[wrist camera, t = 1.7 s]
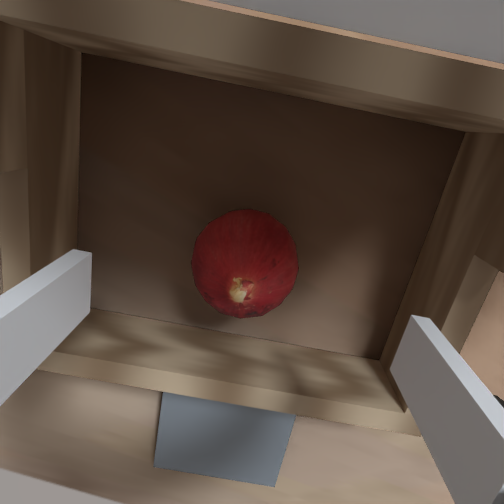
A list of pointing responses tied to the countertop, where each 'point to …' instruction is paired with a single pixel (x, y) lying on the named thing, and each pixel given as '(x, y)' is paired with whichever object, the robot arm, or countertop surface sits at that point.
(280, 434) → the slate mat
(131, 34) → the box
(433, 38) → the lid
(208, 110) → the countertop surface
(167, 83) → the countertop surface
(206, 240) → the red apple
